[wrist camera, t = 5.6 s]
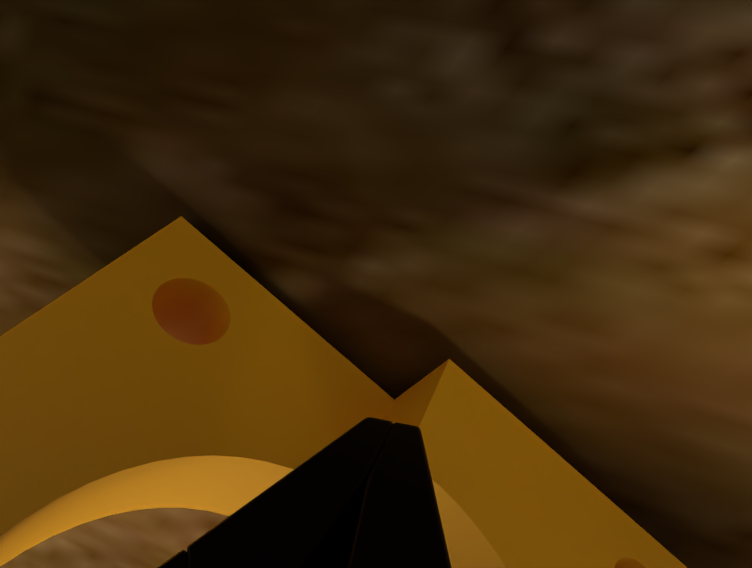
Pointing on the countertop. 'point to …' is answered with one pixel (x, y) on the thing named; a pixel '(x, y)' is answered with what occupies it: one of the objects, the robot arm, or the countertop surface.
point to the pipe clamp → (257, 418)
